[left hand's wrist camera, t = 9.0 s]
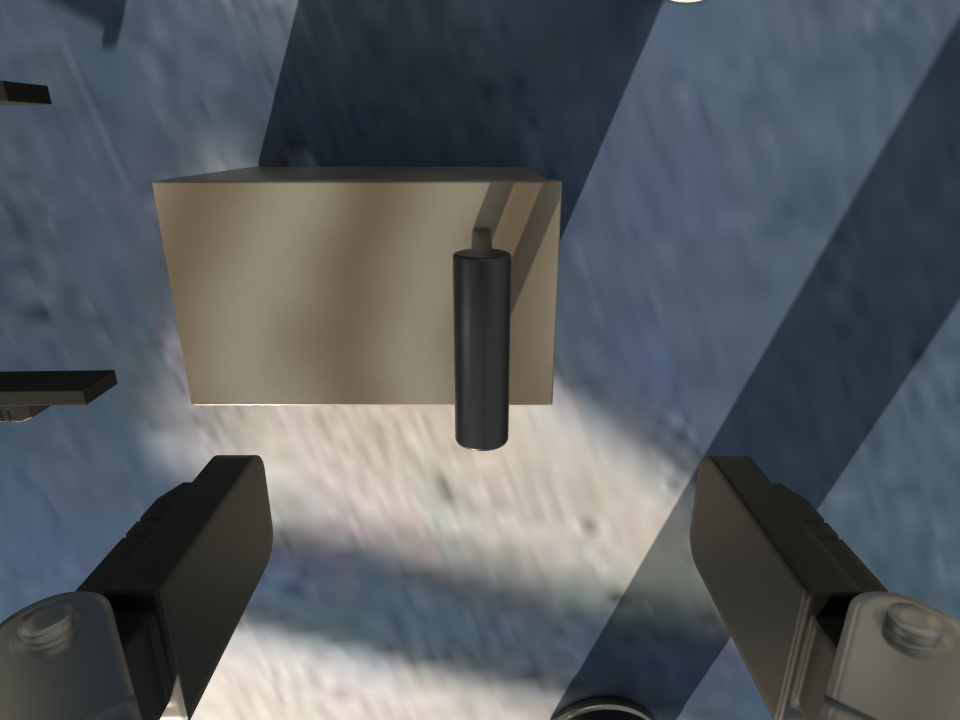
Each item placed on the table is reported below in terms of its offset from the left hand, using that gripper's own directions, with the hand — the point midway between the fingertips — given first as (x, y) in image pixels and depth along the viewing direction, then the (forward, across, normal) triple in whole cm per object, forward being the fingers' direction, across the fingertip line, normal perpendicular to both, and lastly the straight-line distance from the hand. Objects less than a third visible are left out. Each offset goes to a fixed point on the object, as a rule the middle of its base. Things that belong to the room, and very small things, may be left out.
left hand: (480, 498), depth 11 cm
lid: (+15, +5, 0) cm, 16 cm away
